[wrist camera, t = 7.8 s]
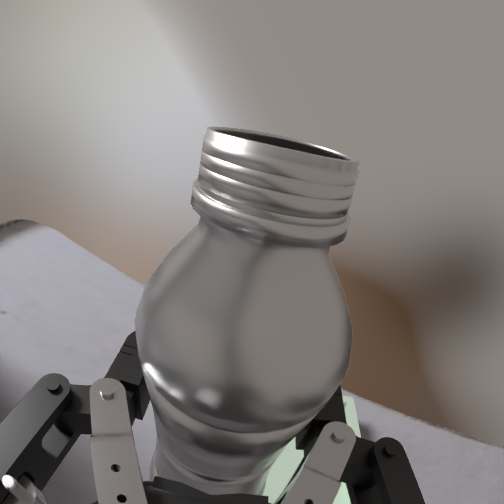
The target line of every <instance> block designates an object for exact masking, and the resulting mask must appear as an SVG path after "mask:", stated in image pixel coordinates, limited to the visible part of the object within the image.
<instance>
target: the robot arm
mask: <svg viewBox="0 0 504 504" xmlns="http://www.w3.org/2000/svg"><path fill="white" fill-rule="evenodd" d="M340 387H341V386H340V385H339V387H338V388H337V390H336V391H335V393H334V394H333V396H332V397H331V398H330V400H329V401H328V402H327V403H326V405H325V406H324V407H323V409H321V410H320V411H319V412H318V414H317V415H316V416H315V417H314V418H313V419H312V420H311V421H310V422H309V423H308V424H307V425H306V426H305V427H304V428H303V429H302V430H301V431H300V432H299V433H298V434H297V435H296V436H295V442H296V450H304V457H303V458H302V460H301V461H300V463H299V465H298V467H297V468H296V470H295V472H294V473H293V475H292V477H291V478H290V480H289V482H288V483H287V485H286V486H285V488H284V490H283V491H282V493H281V494H280V496H279V497H278V498H277V500H276V501H275V503H274V504H333V502H334V500H335V497H336V495H337V493H338V491H339V489H340V486H341V482H343V483H346V486H347V490H348V494H349V498H350V502H351V504H425V502H424V499H423V496H422V494H421V491H420V488H419V486H418V483H417V481H416V478H415V475H414V473H413V470H412V468H411V465H410V463H409V460H408V458H407V455H406V453H405V450H404V448H403V446H402V445H401V443H400V442H398V441H397V440H395V439H393V438H390V437H384V438H381V439H379V440H378V441H377V442H376V443H375V442H372V441H369V440H365V439H362V438H360V437H358V436H356V435H355V432H354V430H353V429H352V428H351V427H350V426H349V425H347V422H346V416H345V409H344V403H343V397H342V392H341V388H340ZM149 401H150V396H149V393H148V389H147V385H146V382H145V378H144V375H143V371H142V367H141V362H140V359H139V356H138V347H137V340H136V331H134V332H133V333H131V334H130V335H129V336H128V337H127V339H126V340H125V342H124V344H123V346H122V347H121V349H120V352H119V353H118V354H117V356H116V358H115V360H114V362H113V363H112V365H111V367H110V369H109V371H108V372H107V374H106V376H105V377H104V378H102V379H99V380H97V381H95V382H94V383H93V384H92V385H88V386H84V385H72V384H70V383H69V381H68V379H67V378H66V377H64V376H63V375H61V374H56V373H52V374H47V375H45V376H43V377H42V378H41V379H40V380H39V381H38V382H37V383H36V384H35V386H34V387H33V388H32V389H31V390H30V391H29V392H28V393H27V394H26V395H25V397H24V398H23V399H22V400H21V401H20V402H19V403H18V404H17V406H16V407H15V408H14V409H13V410H12V411H11V412H10V413H9V415H8V416H7V417H6V418H5V419H4V420H3V422H2V423H1V424H0V504H46V500H45V497H44V495H43V493H42V492H41V491H42V490H43V488H44V487H45V485H46V484H47V482H48V481H49V479H50V478H51V476H52V475H53V473H54V472H55V470H56V469H57V467H58V466H59V465H60V463H61V462H62V460H63V459H64V457H65V456H66V454H67V453H68V452H69V450H70V449H71V447H72V446H73V444H74V443H75V441H76V440H77V439H78V437H79V436H80V434H91V436H90V445H91V455H92V463H93V471H94V478H95V485H96V491H97V497H98V501H96V502H94V503H92V504H272V503H269V502H268V498H269V496H262V495H252V494H244V493H236V494H220V495H211V494H207V493H205V492H202V491H200V490H198V489H195V488H193V487H191V486H189V485H187V484H184V483H182V482H178V481H174V480H170V479H166V478H162V477H158V476H155V477H154V480H153V481H144V482H143V480H142V476H141V472H140V467H139V463H138V458H137V453H136V448H135V443H134V438H133V433H132V425H133V422H134V420H135V418H137V419H140V420H143V417H144V414H145V412H146V409H147V407H148V404H149Z"/></svg>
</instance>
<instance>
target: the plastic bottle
mask: <svg viewBox="0 0 504 504" xmlns="http://www.w3.org/2000/svg"><path fill="white" fill-rule="evenodd" d="M358 166H359V161H358V160H356V159H355V158H353V157H350V156H348V155H345V154H343V153H340V152H337V151H334V150H331V149H328V148H325V147H321V146H318V145H315V144H311V143H308V142H304V141H300V140H296V139H292V138H288V137H282V136H278V135H274V134H268V133H262V132H257V131H251V130H244V129H236V128H227V127H208V128H207V133H206V135H205V136H204V141H203V148H202V155H201V161H200V168H199V175H198V179H196V180H195V181H194V183H193V189H192V197H191V205H192V207H193V209H194V210H195V211H196V212H197V213H198V214H199V215H200V216H201V217H200V220H199V223H198V224H197V225H196V226H195V227H194V228H193V229H192V230H191V231H190V232H189V233H188V234H187V235H186V236H185V237H184V238H183V239H182V240H181V241H180V242H179V243H178V244H177V245H176V246H175V247H174V248H173V249H172V250H171V251H170V252H169V254H168V255H167V256H166V257H165V259H164V260H163V261H162V263H161V264H160V265H159V266H158V268H157V269H156V270H155V271H154V273H153V274H152V276H151V277H150V279H149V280H148V282H147V283H146V286H145V289H144V291H143V294H142V297H141V300H140V303H139V305H138V309H137V313H136V317H135V331H136V340H137V347H138V356H139V359H140V362H141V367H142V371H143V375H144V378H145V382H146V385H147V389H148V393H149V396H150V399H151V403H152V406H153V411H154V418H155V424H156V431H157V439H156V449H155V451H154V453H153V457H152V460H151V465H150V474H149V479H150V481H153V480H154V477H155V476H158V477H162V478H166V479H170V480H174V481H178V482H182V483H184V484H187V485H189V486H191V487H193V488H195V489H198V490H200V491H202V492H205V493H207V494H211V495H220V494H236V493H244V494H252V495H262V496H263V493H264V490H265V486H266V479H267V476H268V474H269V471H270V469H271V466H272V465H273V463H274V462H275V461H276V459H277V458H278V457H279V456H280V454H281V453H282V452H283V450H284V449H285V448H286V446H287V445H288V444H289V442H290V441H291V440H292V439H293V438H294V437H295V436H296V435H297V434H298V433H299V432H300V431H301V430H302V429H303V428H304V427H305V426H306V425H307V424H308V423H309V422H310V421H311V420H312V419H313V418H314V417H315V416H316V415H317V414H318V412H319V411H320V410H321V409H323V407H324V406H325V405H326V403H327V402H328V401H329V400H330V398H331V397H332V396H333V394H334V393H335V391H336V390H337V388H338V387H339V385H340V384H341V382H342V381H343V380H344V378H345V376H346V372H347V370H348V367H349V362H350V355H351V347H352V339H353V338H352V323H351V319H350V315H349V311H348V306H347V302H346V298H345V295H344V292H343V289H342V286H341V284H340V281H339V279H338V276H337V273H336V271H335V268H334V266H333V263H332V261H331V258H330V255H329V249H330V246H333V245H337V244H339V243H340V242H342V241H343V240H344V239H345V237H346V234H347V230H348V227H349V224H350V216H349V214H348V210H349V207H350V204H351V200H352V196H353V192H354V189H355V185H356V181H357V177H358V173H359V170H358Z"/></svg>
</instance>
